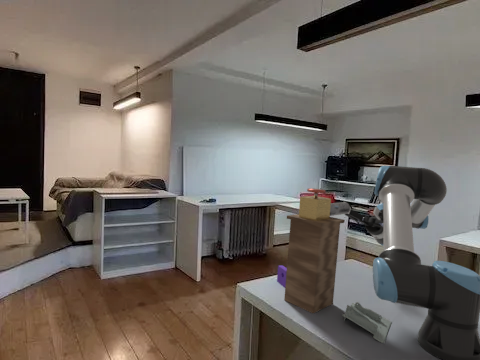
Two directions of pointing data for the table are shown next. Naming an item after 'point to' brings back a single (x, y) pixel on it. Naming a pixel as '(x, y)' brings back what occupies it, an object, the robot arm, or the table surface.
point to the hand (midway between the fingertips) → (358, 207)
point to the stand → (312, 262)
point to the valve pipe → (320, 206)
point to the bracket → (282, 275)
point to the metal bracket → (368, 321)
